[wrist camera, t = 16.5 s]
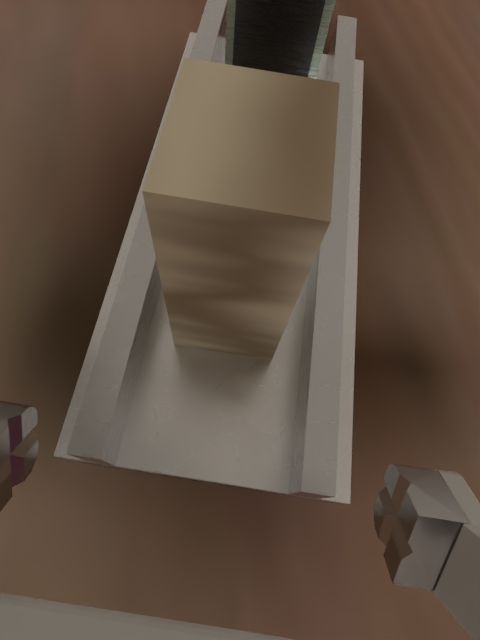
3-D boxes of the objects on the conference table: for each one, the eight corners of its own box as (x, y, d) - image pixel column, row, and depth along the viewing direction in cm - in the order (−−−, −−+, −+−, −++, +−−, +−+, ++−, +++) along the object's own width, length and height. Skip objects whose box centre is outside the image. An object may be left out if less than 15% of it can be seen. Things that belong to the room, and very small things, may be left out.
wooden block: (174, 344, 19) (141, 190, 10) (197, 243, 21) (188, 44, 12) (271, 360, 19) (330, 221, 10) (283, 257, 21) (340, 69, 12)
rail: (61, 458, 17) (-136, 390, 7) (190, 46, 29) (181, -194, 19) (342, 504, 17) (522, 497, 7) (358, 74, 29) (436, -151, 19)
